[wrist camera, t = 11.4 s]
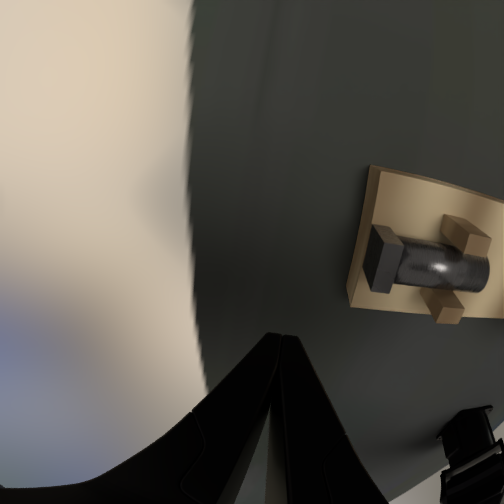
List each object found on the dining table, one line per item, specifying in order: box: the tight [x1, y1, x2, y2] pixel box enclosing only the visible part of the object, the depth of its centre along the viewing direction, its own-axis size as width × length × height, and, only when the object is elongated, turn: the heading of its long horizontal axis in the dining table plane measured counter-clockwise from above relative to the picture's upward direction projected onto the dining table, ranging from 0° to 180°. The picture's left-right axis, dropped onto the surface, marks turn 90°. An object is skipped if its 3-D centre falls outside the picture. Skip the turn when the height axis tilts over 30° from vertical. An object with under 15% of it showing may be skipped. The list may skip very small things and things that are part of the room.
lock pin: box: [362, 224, 490, 294], centre depth 12 cm, size 7×2×2 cm, turn 86°
